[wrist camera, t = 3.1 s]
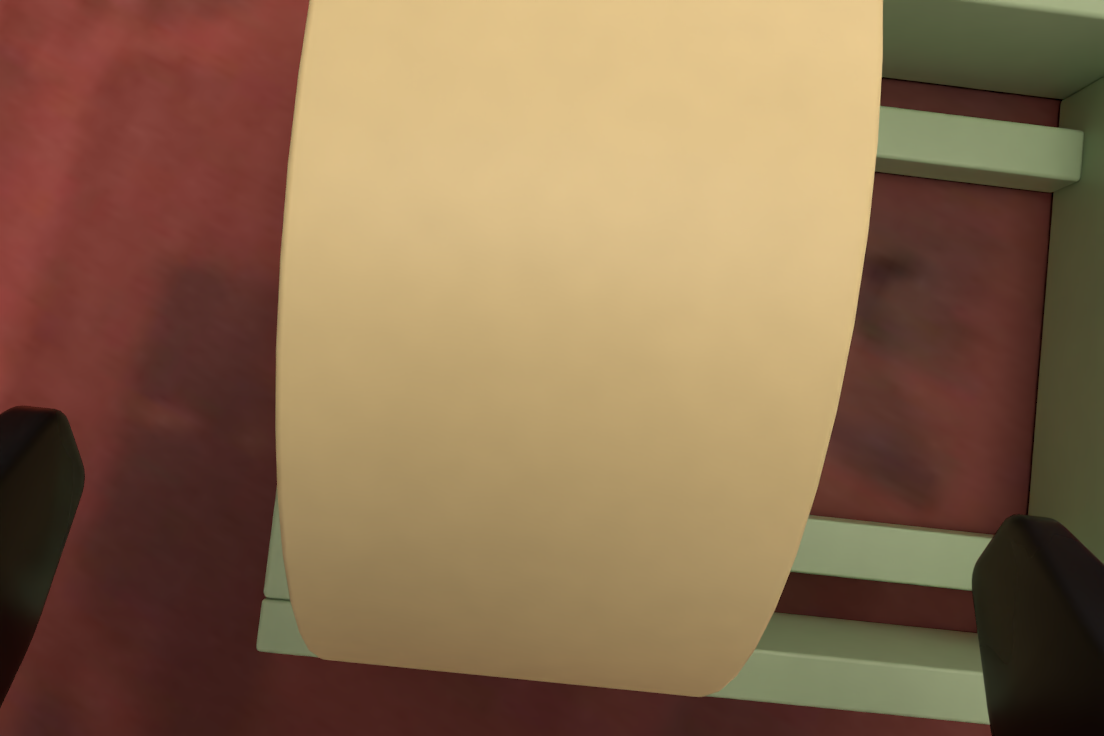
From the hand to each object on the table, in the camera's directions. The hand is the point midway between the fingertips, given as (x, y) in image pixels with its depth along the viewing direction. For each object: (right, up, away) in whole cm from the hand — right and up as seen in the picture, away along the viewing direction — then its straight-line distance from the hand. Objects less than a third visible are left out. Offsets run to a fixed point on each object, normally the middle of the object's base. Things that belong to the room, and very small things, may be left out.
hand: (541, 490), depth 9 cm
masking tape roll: (0, +3, +4) cm, 5 cm away
